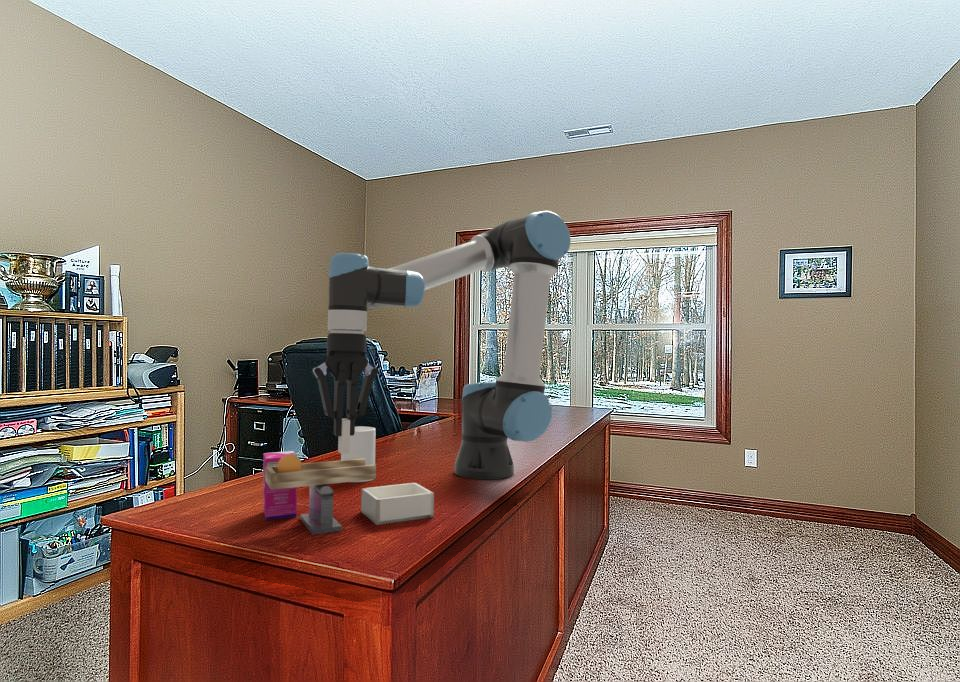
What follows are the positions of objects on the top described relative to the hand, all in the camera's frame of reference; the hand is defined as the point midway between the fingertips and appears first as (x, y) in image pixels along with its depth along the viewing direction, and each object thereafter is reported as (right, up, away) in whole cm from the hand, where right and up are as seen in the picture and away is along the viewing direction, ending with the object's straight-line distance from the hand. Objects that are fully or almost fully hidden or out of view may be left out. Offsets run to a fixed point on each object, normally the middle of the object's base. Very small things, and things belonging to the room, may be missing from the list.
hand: (343, 452), depth 113 cm
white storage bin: (+11, -11, -3) cm, 16 cm away
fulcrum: (-2, -11, -10) cm, 15 cm away
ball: (-6, 0, -13) cm, 14 cm away
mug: (-2, -12, +27) cm, 30 cm away
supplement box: (-11, -11, -4) cm, 16 cm away
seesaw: (-3, -3, -7) cm, 8 cm away
